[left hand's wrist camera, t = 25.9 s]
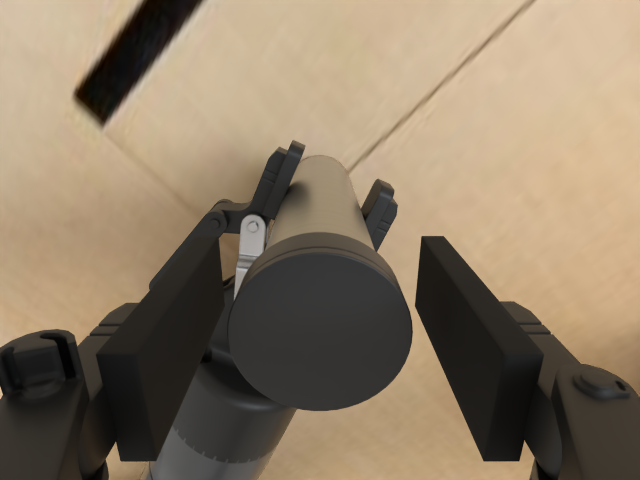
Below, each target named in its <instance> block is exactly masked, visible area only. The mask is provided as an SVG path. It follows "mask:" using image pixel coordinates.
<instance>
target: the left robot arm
mask: <svg viewBox="0 0 640 480" xmlns="http://www.w3.org/2000/svg"><path fill="white" fill-rule="evenodd" d="M224 307H225V301H224V290H223V280H222V269H221V259H220V248H219V237H218V236H196V237H195V238H194V240H193V241H192V242H191V243H190V244H189V245H188V247H187V248H186V249H185V250H184V251H183V252H182V254H181V255H180V256H179V257H178V258H177V259H176V261H175V262H174V263H173V264H172V265H171V267H170V268H169V269H168V270H167V271H166V272H165V274H164V275H163V276H162V277H161V278H160V279H159V281H158V282H157V283H156V284H155V285H154V286H153V288H152V289H151V290H150V291H149V292H148V293H147V295H146V296H145V297H144V298H143V299H142V301H141V302H140V303H125V304H124V305H122V306H120V307H119V308H117V309H115V310H113V311H112V312H110V313H109V314H108V315H107V316H106V317H105V318H104V319H103V320H102V321H101V322H100V323H99V326H97V327H96V328H95V329H94V330H93V331H92V332H91V333H90V336H87V337H86V338H85V339H84V340H83V341H82V342H81V343H80V344H79V345H78V347H77V344H76V340H75V336H74V335H73V334H72V333H70V332H69V331H65V330H59V329H55V330H43V331H39V332H35V333H31V334H27V335H24V336H22V337H20V338H17V339H15V340H12V341H10V342H9V343H7V344H5V345H4V346H2V347H1V348H0V387H1V390H2V393H3V396H2V398H1V399H0V480H108V478H109V474H108V467H107V463H106V457H107V456H108V454H109V452H110V451H111V449H112V447H113V445H114V444H115V442H116V443H117V448H118V452H119V456H120V460H121V461H157V459H158V456H159V454H160V452H161V449H162V447H163V445H164V443H165V440H166V438H167V436H168V434H169V431H170V429H171V427H172V425H173V422H174V420H175V418H176V416H177V413H178V411H179V409H180V407H181V404H182V402H183V400H184V397H185V395H186V393H187V391H188V388H189V386H190V384H191V382H192V379H193V377H194V375H195V373H196V370H197V368H198V366H199V364H200V361H201V359H202V357H203V355H204V352H205V350H206V348H207V346H208V343H209V341H210V339H211V336H212V334H213V332H214V330H215V327H216V325H217V323H218V321H219V318H220V316H221V314H222V312H223V309H224ZM415 307H416V309H417V312H418V314H419V316H420V318H421V321H422V323H423V325H424V327H425V330H426V332H427V334H428V336H429V339H430V341H431V343H432V346H433V348H434V350H435V352H436V355H437V357H438V359H439V361H440V364H441V366H442V368H443V370H444V373H445V375H446V377H447V379H448V382H449V384H450V386H451V388H452V391H453V393H454V395H455V398H456V400H457V402H458V404H459V407H460V409H461V411H462V413H463V416H464V418H465V420H466V422H467V425H468V427H469V429H470V431H471V434H472V436H473V438H474V440H475V443H476V445H477V447H478V449H479V452H480V454H481V456H482V459H483V461H519V460H520V456H521V452H522V448H523V443H524V440H525V442H526V443H527V445H528V447H529V448H530V450H531V452H532V453H533V455H534V457H535V459H534V463H533V467H532V471H531V475H530V479H529V480H640V397H638V395H637V393H636V392H635V391H634V390H633V388H632V387H631V386H630V385H629V384H628V383H626V382H625V381H624V380H622V379H621V378H619V377H618V376H616V375H614V374H612V373H610V372H608V371H606V370H604V369H601V368H598V367H594V366H591V365H587V364H581V363H580V362H579V361H578V360H577V359H576V358H575V357H574V356H573V355H572V354H571V353H570V352H569V351H568V350H567V349H566V348H565V347H564V346H563V345H562V344H561V343H560V341H559V340H558V339H557V338H556V337H555V336H554V335H551V332H550V331H549V330H548V329H547V328H546V327H545V326H544V325H542V324H541V322H540V321H539V320H538V319H537V317H536V316H535V315H534V314H533V313H532V312H531V311H529V310H527V309H526V308H524V307H522V306H521V305H519V304H517V303H515V302H499V301H498V299H497V298H496V297H495V296H494V295H493V293H492V292H491V291H490V290H489V289H488V288H487V286H486V285H485V284H484V283H483V282H482V281H481V279H480V278H479V277H478V276H477V275H476V274H475V272H474V271H473V270H472V269H471V268H470V267H469V265H468V264H467V263H466V262H465V261H464V259H463V258H462V257H461V256H460V255H459V254H458V252H457V251H456V250H455V249H454V248H453V247H452V245H451V244H450V243H449V242H448V241H447V240H446V238H445V237H444V236H422V237H421V248H420V259H419V269H418V280H417V290H416V301H415Z"/></svg>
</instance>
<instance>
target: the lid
mask: <svg viewBox="0 0 640 480" xmlns="http://www.w3.org/2000/svg"><path fill="white" fill-rule="evenodd" d="M412 333H413V331H412V320H411V315H410V311H409V308H408V306H407V303H406V301H405V298H404V296H403V293H402V291H401V289H400V286H399V284H398V281H397V279H396V276H395V275H394V273H393V271H392V269H391V268H390V266H389V265H388V264H387V262H386V261H385V260H384V259H383V258H382V257H381V256H380V255H379V254H378V253H377V252H376V251H374V250H373V249H372V248H370V247H369V246H367V245H366V244H364V243H362V242H360V241H358V240H356V239H353V238H351V237H348V236H344V235H340V234H336V233H328V232H312V233H304V234H299V235H295V236H291V237H289V238H286V239H284V240H281V241H279V242H278V243H276V244H274V245H272V246H271V247H269V248H268V249H267V250H265V251H264V252H263V253H262V254H261V255H260V256H259V257H257V258H256V259H255V261H254V262H253V263H252V265H251V266H250V267H249V269H248V270H247V272H246V274H245V276H244V278H243V280H242V283H241V285H240V288H239V290H238V292H237V295H236V297H235V300H234V302H233V305H232V308H231V310H230V313H229V318H228V324H227V337H228V345H229V349H230V353H231V355H232V358H233V360H234V363H235V364H236V366H237V368H238V369H239V371H240V373H241V374H242V375H243V376H244V378H245V379H246V380H247V381H248V382H249V383H250V384H251V385H252V386H253V387H254V388H255V389H257V390H258V391H259V392H260V393H262V394H263V395H265V396H267V397H268V398H270V399H272V400H274V401H276V402H278V403H281V404H283V405H286V406H289V407H293V408H297V409H302V410H311V411H329V410H338V409H342V408H347V407H350V406H353V405H356V404H359V403H361V402H363V401H366V400H368V399H370V398H371V397H373V396H375V395H376V394H378V393H379V392H380V391H382V390H383V389H384V388H386V387H387V386H388V385H389V384H390V383H391V382H392V381H393V380H394V379H395V377H396V376H397V375H398V373H399V372H400V371H401V369H402V367H403V365H404V364H405V362H406V359H407V357H408V354H409V351H410V347H411V343H412Z"/></svg>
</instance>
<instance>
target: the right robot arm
mask: <svg viewBox="0 0 640 480" xmlns="http://www.w3.org/2000/svg"><path fill="white" fill-rule="evenodd" d="M304 149H305V145H303V144H301V143H299V142H296V141H294V140H293V141H292V143H291V145H290V147H289V149H288V150H286V149H283V148H281V147H279V148H278V149H277V150H276V151H275V152H274V153H273V154H272V155H271V156H270V158H269V159H268V162H267V164H266V167H265V170H264V172H263V174H262V177H261V179H260V182H259V184H258V187H257V189H256V192H255V194H254V197H253V200H252V201H250V202H248V203H244V204H241V203H233V202H232V201H230V200H227V199H223V200H220V201H218V202H217V203H216V204H215V205H214V207H213V208H212V209H211V210H210V211H209V212H208V213H207V214H206V215H205V216H204V218H203V219H202V220H201V221H200V222H199V224H198V225H197V226H196V227H195V228H194V230H193V231H192V232H191V233H190V234H189V236H188V237H187V238H186V239H185V241H184V242H183V243H182V244H181V245H180V247H179V248H178V249H177V250H176V251H175V253H174V254H173V255H172V256H171V258H170V259H169V260H168V261H167V262H166V264H165V265H164V266H163V267H162V268H161V270H160V271H159V272H158V273H157V274H156V276H155V277H154V278H153V279H152V281H151V282H150V284H149V289H150V290H151V289H152V288H153V286H154V285H155V284H156V283H157V282H158V281H159V279H160V278H161V277H162V276H163V275H164V274H165V272H166V271H167V270H168V269H169V268H170V267H171V265H172V264H173V263H174V262H175V261H176V259H177V258H178V257H179V256H180V255H181V254H182V252H183V251H184V250H185V249H186V248H187V247H188V245H189V244H190V243H191V242H192V241H193V240H194V238H195V237H196V236H218V237H220V236H221V235H222V234H223V233H236V234H240V246H239V256H238V261H237V266H236V275H234V276H232V277H230V278H228V279H226V280H225V281H223V290H224V301H225V307H224V309H223V312H222V314H221V316H220V318H219V321H218V323H217V325H216V327H215V330H214V332H213V334H212V336H211V339H210V341H209V343H208V346H207V348H206V350H205V352H204V355H203V357H202V359H201V361H200V364H199V366H198V368H197V370H196V373H195V375H194V377H193V379H192V382H191V384H190V386H189V388H188V391H187V393H186V395H185V397H184V400H183V402H182V404H181V407H180V409H179V411H178V413H177V416H176V418H175V420H174V422H173V425H172V427H171V429H170V431H169V434H168V436H167V438H166V440H165V443H164V445H163V447H162V449H161V452H160V454H159V456H158V459H157V461H147V463H146V466H145V468H144V471H143V473H142V475H141V477H140V480H257V479H258V477H259V476H260V475H261V473H262V472H263V470H264V468H265V467H266V465H267V463H268V461H269V460H270V458H271V456H272V454H273V452H274V450H275V449H276V447H277V445H278V443H279V441H280V439H281V437H282V436H283V434H284V432H285V430H286V428H287V426H288V424H289V423H290V421H291V419H292V417H293V415H294V413H295V412H296V410H297V408H293V407H289V406H286V405H283V404H281V403H278V402H276V401H274V400H272V399H270V398H268V397H267V396H265V395H263V394H262V393H260V392H259V391H258V390H257V389H255V388H254V387H253V386H252V385H251V384H250V383H249V382H248V381H247V380H246V379H245V378H244V376H243V375H242V374H241V373H240V371H239V369H238V368H237V366H236V364H235V363H234V360H233V358H232V355H231V353H230V349H229V345H228V337H227V324H228V318H229V313H230V310H231V308H232V305H233V302H234V300H235V297H236V295H237V292H238V290H239V288H240V285H241V283H242V280H243V278H244V276H245V274H246V272H247V270H248V269H249V267H250V266H251V265H252V263H253V262H254V261H255V259H256V258H257V257H259V256H260V255H261V254H262V253H263V252H264V251H265V249H266V246H267V243H268V238H269V228H270V220H271V219H273V220H275V218H276V215H277V213H278V211H279V208H280V205H281V203H282V201H283V199H284V197H285V194H286V192H287V190H288V187H289V185H290V183H291V180H292V178H293V175H294V173H295V171H296V168H297V166H298V164H299V161H300V159H301V157H302V154H303V152H304ZM393 195H394V189H393V188H392V186H391V185H390V184H388V183H386V182H384V181H382V180H379V179H377V180H376V181H375V182H374V184H373V186H372V188H371V190H370V192H369V194H368V196H367V198H366V200H365V202H364V204H363V206H362V208H361V212H362V215H363V218H364V221H365V224H366V227H367V230H368V232H369V235H370V238H371V241H372V244H373V247H374V250H375V251H376V252H377V251H378V249H379V247H380V245H381V243H382V241H383V239H384V237H385V236H386V234H387V232H388V230H389V228H390V226H391V224H392V223H393V221H394V219H395V217H396V214H397V206H398V205H397V203H396V202H395V201H394V199H393Z"/></svg>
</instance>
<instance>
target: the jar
mask: <svg viewBox="0 0 640 480" xmlns="http://www.w3.org/2000/svg"><path fill="white" fill-rule="evenodd" d="M312 232H328V233H336V234H340V235H344V236H348V237H351V238H353V239H356V240H358V241H360V242H362V243H364V244H366V245H367V246H369V247H370V248H372V249H373V250H374V247H373V244H372V241H371V238H370V235H369V232H368V230H367V227H366V224H365V221H364V218H363V215H362V212H361V209H360V206H359V203H358V201H357V198H356V195H355V192H354V189H353V186H352V183H351V180H350V177H349V175H348V172H347V170H346V169H345V168H344V166H343V165H342V164H341V163H340V162H338V161H337V160H335V159H333V158H331V157H328V156H312V157H309V158H306V159H305V160H303V161H302V162H300V163H299V164H298V166H297V168H296V171H295V173H294V175H293V178H292V180H291V183H290V185H289V187H288V190H287V192H286V194H285V197H284V199H283V201H282V203H281V205H280V208H279V211H278V214H277V217H276V220H275V223H274V225H273V228H272V231H271V234H270V237H269V240H268V243H267V246H266V249H265V250H267V249H268V248H269V247H271V246H272V245H274V244H276V243H278V242H279V241H281V240H284V239H286V238H289V237H291V236H295V235H299V234H304V233H312ZM374 251H375V250H374Z"/></svg>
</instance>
